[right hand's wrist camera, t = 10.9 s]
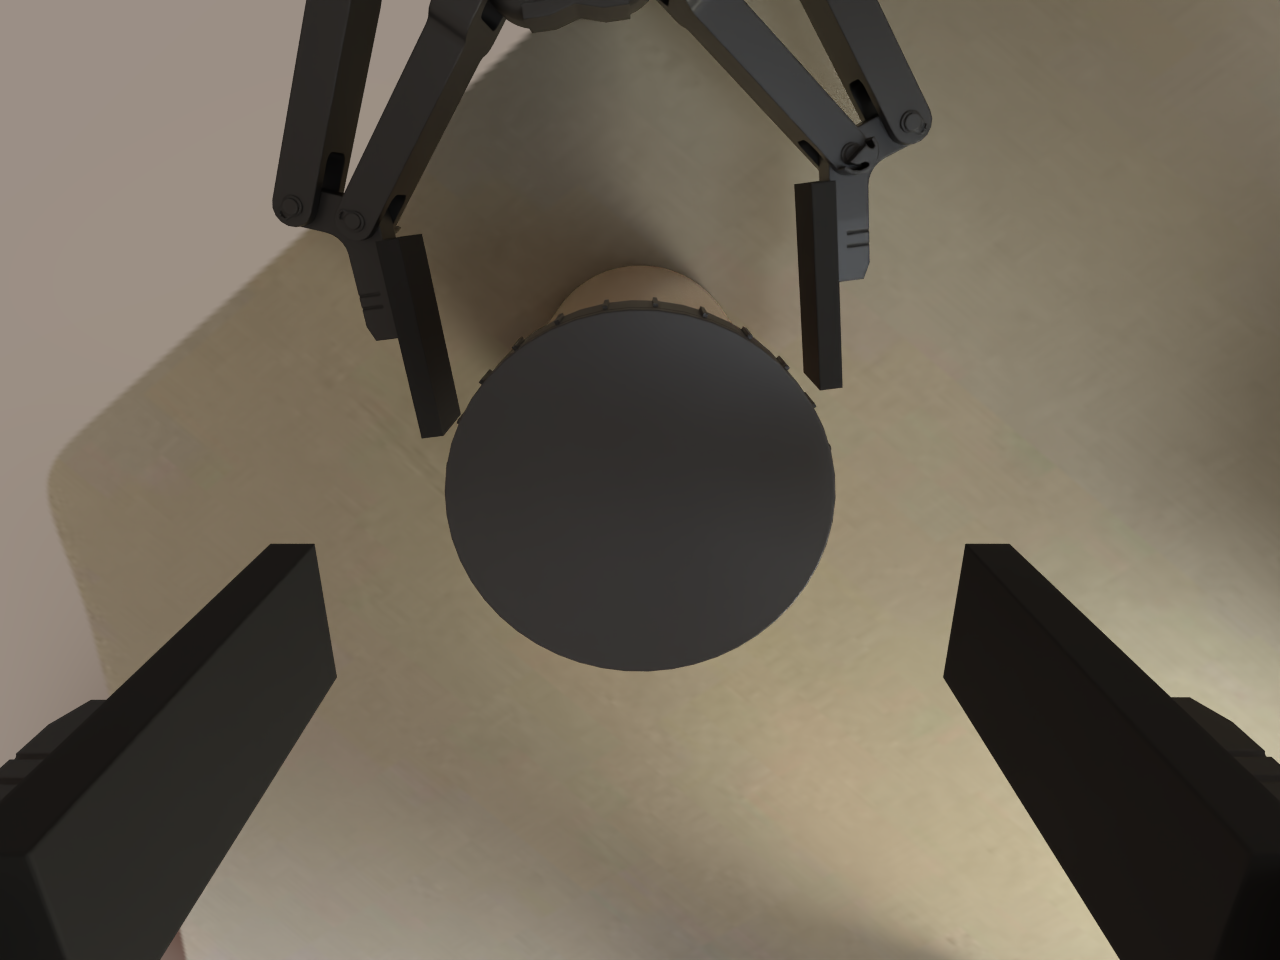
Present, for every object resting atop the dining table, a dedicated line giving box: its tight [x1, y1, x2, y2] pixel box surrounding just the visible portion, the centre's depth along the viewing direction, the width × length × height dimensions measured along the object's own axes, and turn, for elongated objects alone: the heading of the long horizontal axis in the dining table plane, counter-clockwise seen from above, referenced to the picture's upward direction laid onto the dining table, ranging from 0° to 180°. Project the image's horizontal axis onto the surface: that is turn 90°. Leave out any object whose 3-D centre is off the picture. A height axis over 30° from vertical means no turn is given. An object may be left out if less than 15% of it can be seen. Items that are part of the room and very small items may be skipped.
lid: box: [445, 297, 835, 671], centre depth 19 cm, size 9×9×2 cm
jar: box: [548, 265, 732, 324], centre depth 25 cm, size 8×8×15 cm
